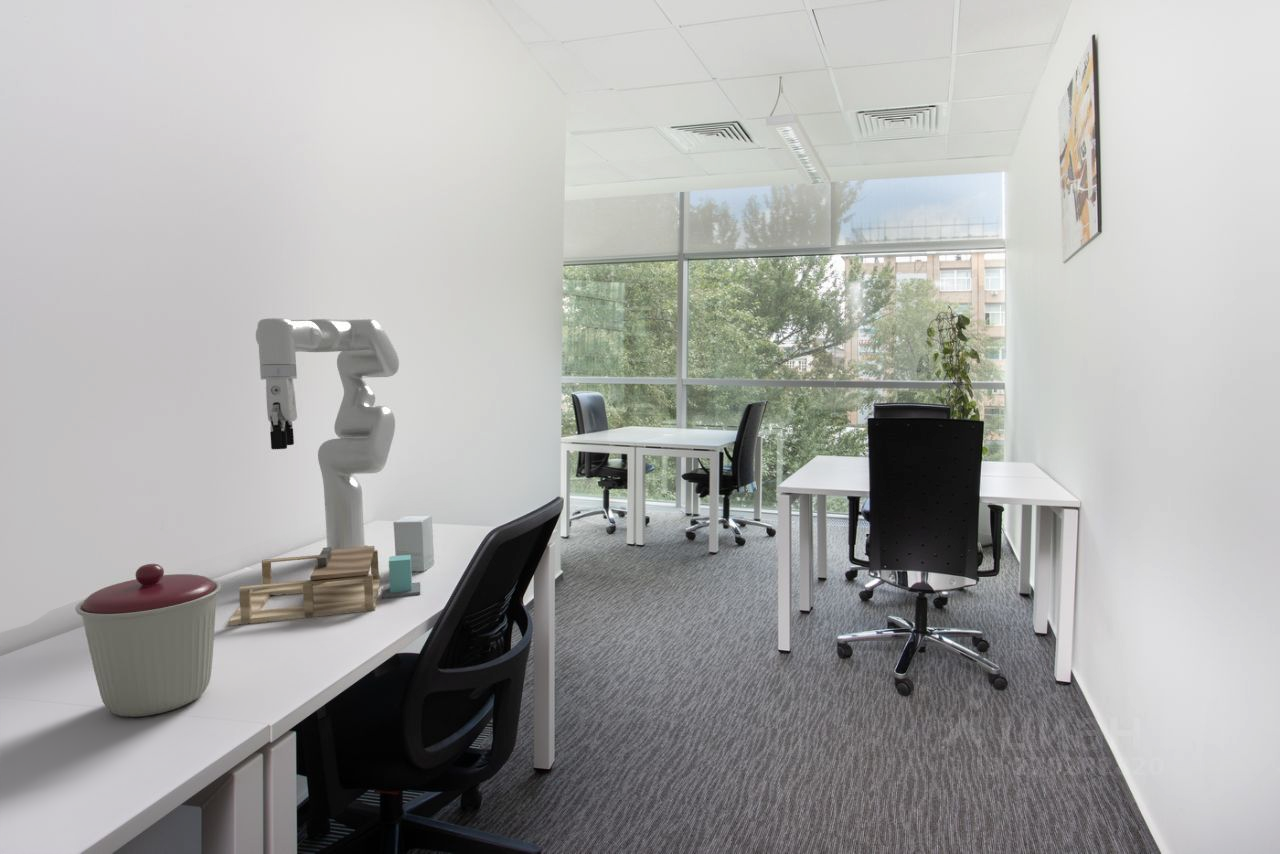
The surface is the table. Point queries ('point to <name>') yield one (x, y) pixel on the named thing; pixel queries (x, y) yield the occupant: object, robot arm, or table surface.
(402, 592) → the felt mat
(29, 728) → the table surface
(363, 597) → the light wood slatted frame
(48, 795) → the table surface
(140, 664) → the canister
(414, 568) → the supplement box
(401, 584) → the teal block
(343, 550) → the walnut lid
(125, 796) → the table surface
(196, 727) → the table surface
